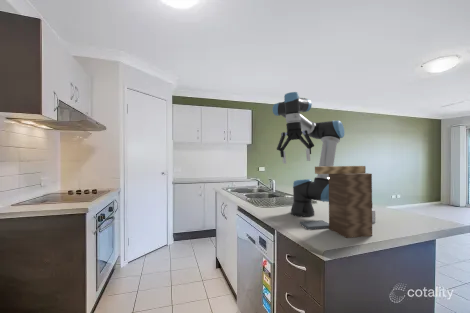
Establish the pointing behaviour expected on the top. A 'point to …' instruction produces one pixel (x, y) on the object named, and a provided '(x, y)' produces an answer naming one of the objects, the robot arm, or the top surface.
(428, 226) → the top surface
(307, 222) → the mat
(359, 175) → the stand
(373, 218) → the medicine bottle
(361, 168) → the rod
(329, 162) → the robot arm
